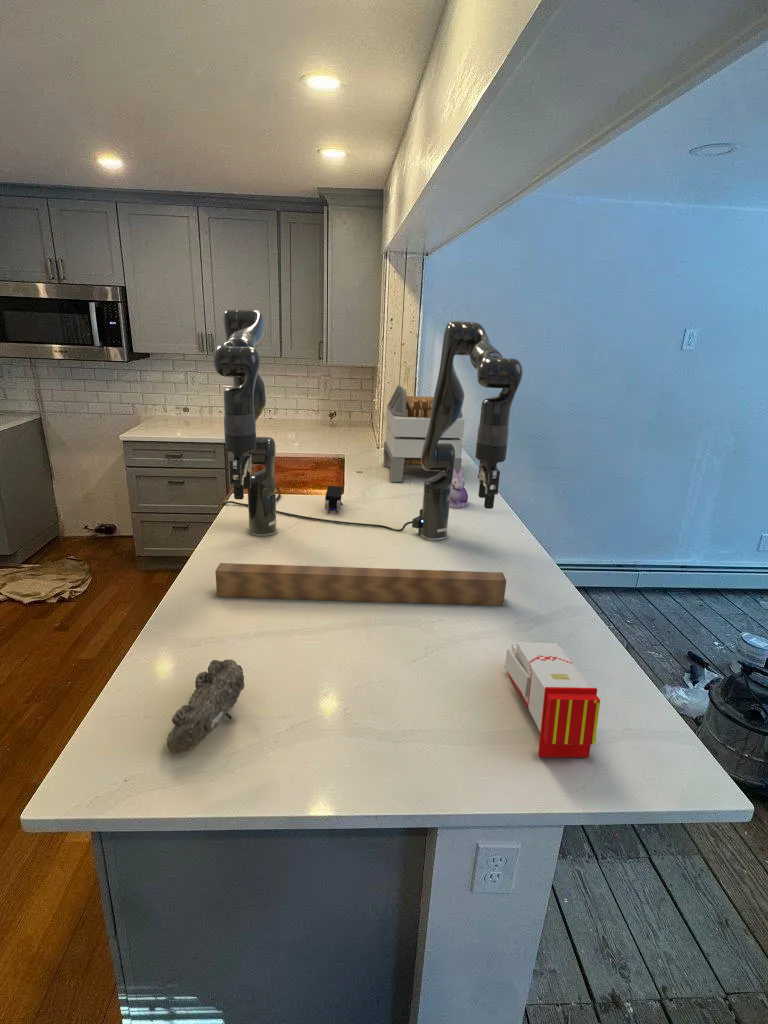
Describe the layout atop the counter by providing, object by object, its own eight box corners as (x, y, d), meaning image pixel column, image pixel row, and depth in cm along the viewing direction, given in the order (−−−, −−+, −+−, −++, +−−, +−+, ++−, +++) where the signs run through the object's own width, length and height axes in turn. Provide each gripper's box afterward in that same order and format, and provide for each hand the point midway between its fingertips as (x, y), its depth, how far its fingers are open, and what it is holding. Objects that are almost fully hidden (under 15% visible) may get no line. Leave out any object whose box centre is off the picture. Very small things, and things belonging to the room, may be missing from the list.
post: (499, 597, 159) (502, 572, 156) (503, 605, 154) (506, 580, 151) (221, 588, 157) (220, 562, 154) (216, 596, 152) (215, 570, 149)
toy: (553, 625, 127) (610, 695, 97) (548, 680, 129) (601, 765, 100) (500, 624, 126) (540, 694, 97) (495, 679, 129) (533, 764, 100)
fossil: (192, 660, 117) (244, 628, 112) (224, 691, 120) (276, 661, 115) (142, 746, 98) (202, 712, 93) (182, 779, 101) (242, 748, 96)
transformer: (382, 463, 289) (386, 382, 275) (445, 464, 293) (451, 384, 279) (390, 482, 257) (394, 392, 243) (460, 483, 261) (468, 394, 247)
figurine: (454, 509, 226) (458, 473, 221) (440, 502, 235) (443, 467, 229) (474, 507, 230) (477, 471, 225) (459, 499, 239) (463, 465, 234)
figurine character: (341, 518, 215) (343, 501, 228) (341, 500, 212) (343, 484, 225) (323, 518, 215) (326, 501, 228) (323, 500, 211) (326, 484, 225)
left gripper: (231, 424, 146) (234, 484, 151) (217, 436, 132) (220, 502, 138) (261, 425, 146) (263, 486, 151) (249, 437, 132) (251, 503, 138)
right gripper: (472, 434, 147) (466, 493, 153) (482, 447, 134) (475, 511, 139) (501, 435, 147) (494, 494, 153) (513, 448, 134) (505, 512, 139)
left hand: (242, 493), depth 144 cm, fingers open, 8 cm apart
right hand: (485, 502), depth 146 cm, fingers open, 8 cm apart
